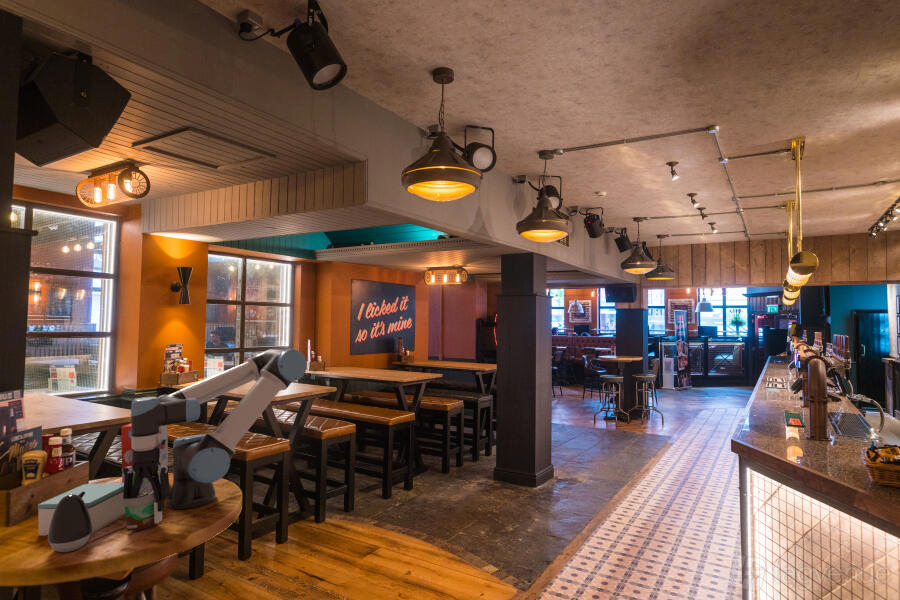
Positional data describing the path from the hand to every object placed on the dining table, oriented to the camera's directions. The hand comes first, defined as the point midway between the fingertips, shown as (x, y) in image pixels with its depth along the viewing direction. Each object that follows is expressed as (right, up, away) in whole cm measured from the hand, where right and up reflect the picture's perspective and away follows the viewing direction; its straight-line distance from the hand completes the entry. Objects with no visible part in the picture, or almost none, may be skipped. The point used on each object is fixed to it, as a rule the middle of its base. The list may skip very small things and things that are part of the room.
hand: (147, 521), depth 160 cm
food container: (0, -1, 0) cm, 1 cm away
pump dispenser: (-14, -2, -13) cm, 20 cm away
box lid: (-22, +6, +4) cm, 23 cm away
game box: (-19, -3, +32) cm, 37 cm away
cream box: (-22, -2, +4) cm, 22 cm away
